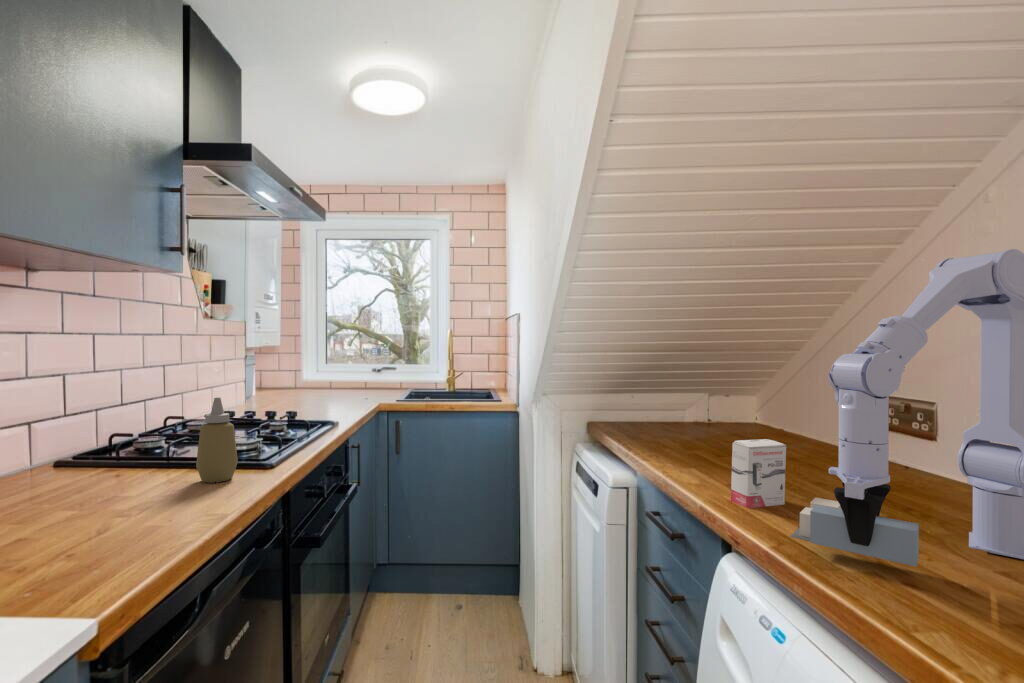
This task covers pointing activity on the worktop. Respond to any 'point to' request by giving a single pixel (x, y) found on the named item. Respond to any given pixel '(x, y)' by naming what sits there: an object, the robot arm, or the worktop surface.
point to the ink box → (758, 473)
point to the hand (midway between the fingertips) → (862, 539)
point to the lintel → (887, 539)
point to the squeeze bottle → (216, 446)
